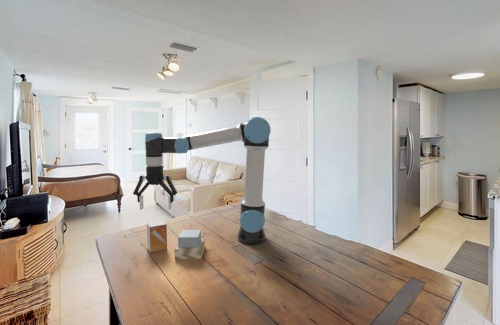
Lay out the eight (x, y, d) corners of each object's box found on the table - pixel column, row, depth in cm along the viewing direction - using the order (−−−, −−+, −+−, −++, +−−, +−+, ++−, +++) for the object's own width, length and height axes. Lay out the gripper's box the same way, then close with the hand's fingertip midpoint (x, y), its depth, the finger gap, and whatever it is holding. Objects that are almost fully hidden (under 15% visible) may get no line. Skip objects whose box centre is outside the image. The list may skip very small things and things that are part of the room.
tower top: (201, 239, 127) (200, 229, 126) (197, 247, 118) (197, 237, 118) (182, 239, 127) (182, 229, 126) (178, 247, 118) (178, 237, 117)
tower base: (204, 247, 129) (204, 238, 129) (201, 259, 117) (201, 249, 117) (180, 247, 129) (180, 238, 128) (174, 259, 117) (174, 249, 116)
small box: (150, 253, 122) (149, 227, 120) (147, 248, 127) (146, 223, 125) (167, 249, 126) (166, 223, 125) (164, 244, 131) (163, 220, 130)
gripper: (182, 164, 126) (183, 206, 128) (131, 164, 125) (133, 206, 127) (179, 166, 118) (180, 211, 121) (124, 166, 117) (126, 211, 120)
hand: (155, 208), depth 124 cm, fingers open, 13 cm apart
